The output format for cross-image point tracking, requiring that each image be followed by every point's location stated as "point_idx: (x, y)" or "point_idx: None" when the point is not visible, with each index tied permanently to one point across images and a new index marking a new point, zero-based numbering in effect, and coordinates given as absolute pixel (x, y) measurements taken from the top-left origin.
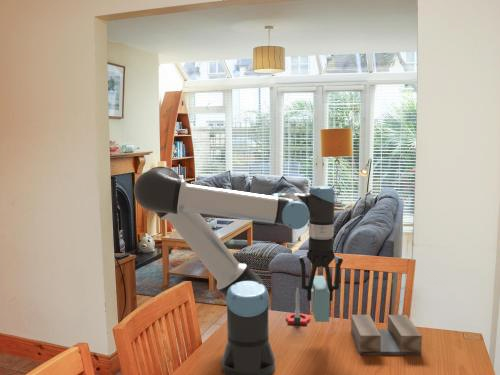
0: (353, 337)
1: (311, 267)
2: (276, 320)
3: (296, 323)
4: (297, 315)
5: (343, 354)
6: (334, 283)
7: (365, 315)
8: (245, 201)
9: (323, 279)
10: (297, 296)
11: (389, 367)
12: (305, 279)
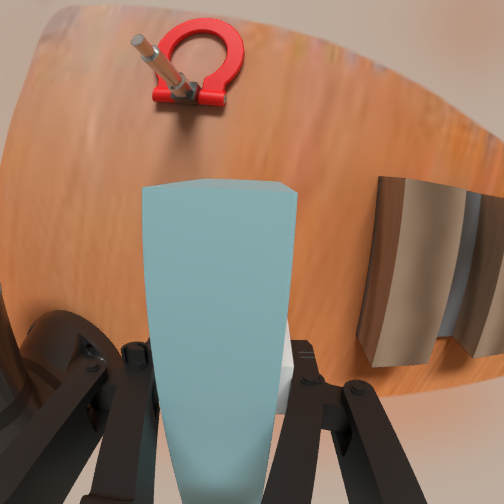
0: (374, 227)
1: (90, 496)
2: (124, 73)
3: (185, 103)
4: (180, 95)
5: (310, 332)
6: (346, 411)
7: (452, 194)
8: None
9: (268, 332)
10: (151, 65)
11: (394, 386)
12: (93, 450)
